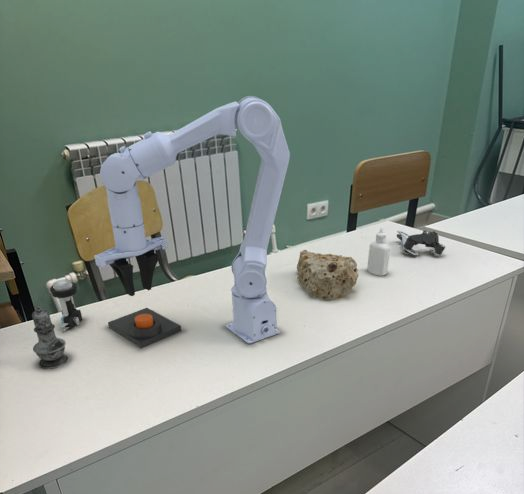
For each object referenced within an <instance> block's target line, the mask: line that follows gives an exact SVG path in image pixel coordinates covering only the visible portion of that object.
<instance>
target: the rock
mask: <svg viewBox="0 0 524 494" xmlns="http://www.w3.org/2000/svg"><path fill="white" fill-rule="evenodd" d="M357 266H358V264H357V262H356V260H355V259H354V258H353V257H352V256H343V254H340V255H338V254H332V253H327V254H326V253H325V254H322V253H317V252H316V253H315V252H311V251H308V250H307V249H303V250H300V251H299V258H298V260H297V264H296V272H297V274H296V275H297V277H296V279H297V280H298V281H297V282H298V283H299V284H300V286H302V287H305V290H306V292H307V293H309V294H310V296H311V297H314V298H315V297H316V298H318V299H320V300H323V301H324V300H325V301H331V300H336V299H337V300H338V299H341V298H344V297H346V296H347V294H348V293H349V292H350V291H351V290H353V287H355V286H356V285H357V281H358V278H359V273H358V272H359V270H358V268H357Z"/></svg>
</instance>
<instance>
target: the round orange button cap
mask: <svg viewBox="0 0 524 494" xmlns="http://www.w3.org/2000/svg"><path fill="white" fill-rule="evenodd" d="M135 324H136V327H137V328H148V327H151V326H153V317H152V315H150V314H140V315H137V316H136V317H135Z"/></svg>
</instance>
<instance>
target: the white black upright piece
mask: <svg viewBox="0 0 524 494" xmlns="http://www.w3.org/2000/svg"><path fill="white" fill-rule="evenodd" d="M77 286H78V285H77V284H76V283H75V282H72V280H70V279H67V278H66V279H65V278H64V279H59V280H55V281H53V283H52V286H50V287H49V291H50V293H51V295H52V297H53V298H56V299H58V300H59V303H60V308H61V311H60V312H61V314H62V315H61V317H60V322H61V325H60V328H62V329H61V332H65V331H66V330H72V329H73V328H74V327H75V326H79V325H80V322H82V321H83V315H82V310H81V309H77V308H76V305H75V302H74V301H75V300H74V298H73V297H74V296H75V295H76V293H77V291H78V290H77Z"/></svg>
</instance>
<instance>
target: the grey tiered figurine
mask: <svg viewBox="0 0 524 494" xmlns="http://www.w3.org/2000/svg"><path fill="white" fill-rule="evenodd" d="M31 317H32V320H33V321H32V322H33V324H34V328H33V332H35V333H36V335H37V339H38V342H37V343H35V344H34V345H33V346H32V351H33V352H34V353H35V354H36V356H37V357H38V358H39V359H41V360H40V361H38V362H39V363H38V365H39V367H40V368H41V369H44V370H45V369H46V370H53V369H57V368H58V367H61V366H63V365H65V364H66V363H68V360H69V356H68V355H66V354H64V353H65V349H66V343H67V342H66V341H65V339H63V338H60V337H57V336H56V332H55V328H56V326H55V324H53V323H52V319H51V316H50V312H49V311H48V310H47V309H44V308H41V306H40V305H37V306H36V310H34V311H32V313H31Z"/></svg>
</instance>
